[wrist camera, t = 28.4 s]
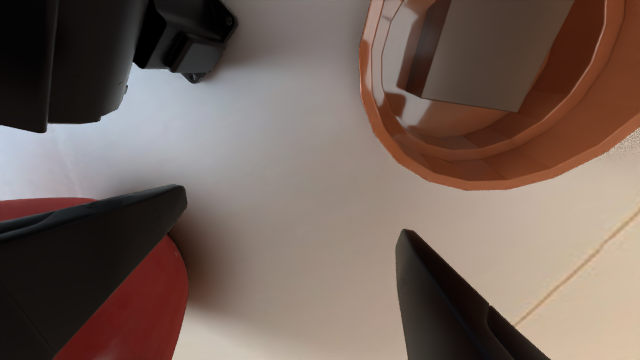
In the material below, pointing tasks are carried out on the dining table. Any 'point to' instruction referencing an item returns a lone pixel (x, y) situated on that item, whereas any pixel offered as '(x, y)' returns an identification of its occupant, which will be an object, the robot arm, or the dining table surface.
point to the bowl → (501, 126)
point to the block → (484, 50)
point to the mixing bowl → (125, 300)
